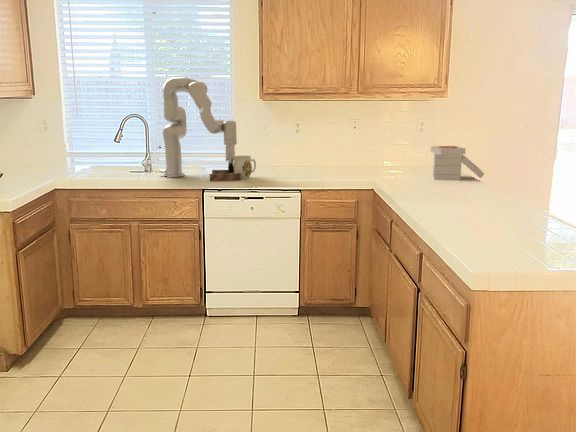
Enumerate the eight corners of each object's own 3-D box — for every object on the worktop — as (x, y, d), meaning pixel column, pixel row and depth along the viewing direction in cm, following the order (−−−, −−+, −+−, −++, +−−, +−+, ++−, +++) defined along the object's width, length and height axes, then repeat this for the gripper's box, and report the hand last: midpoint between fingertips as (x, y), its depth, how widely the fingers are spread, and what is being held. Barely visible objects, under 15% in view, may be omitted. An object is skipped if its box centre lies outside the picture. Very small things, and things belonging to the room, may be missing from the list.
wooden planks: (209, 181, 348) (209, 174, 347) (212, 176, 365) (212, 169, 364) (240, 180, 349) (240, 173, 348) (241, 175, 365) (241, 169, 364)
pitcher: (261, 177, 359) (261, 154, 356) (237, 181, 347) (237, 157, 344) (250, 175, 367) (249, 153, 364) (226, 178, 355) (226, 156, 352)
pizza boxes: (484, 181, 338) (486, 149, 334) (430, 180, 344) (431, 149, 340) (480, 176, 357) (482, 145, 352) (429, 174, 362) (430, 145, 358)
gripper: (224, 140, 359) (225, 170, 363) (223, 143, 344) (223, 174, 349) (237, 140, 359) (238, 170, 363) (235, 143, 345) (236, 174, 349)
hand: (231, 172), depth 356 cm, fingers closed
